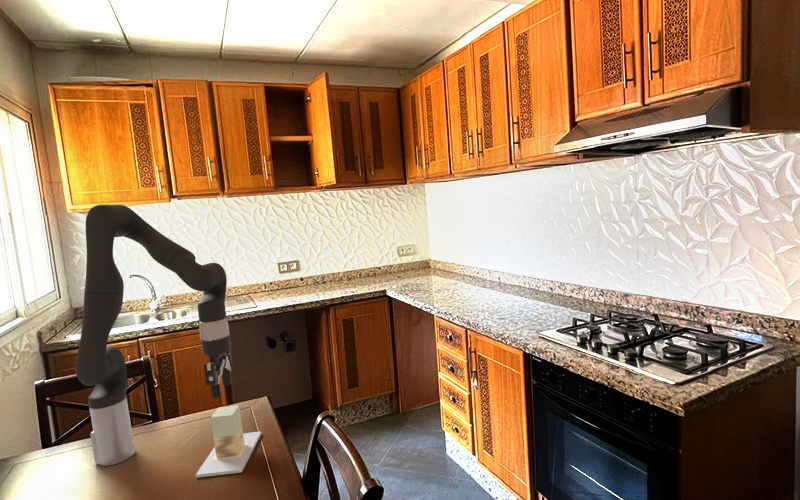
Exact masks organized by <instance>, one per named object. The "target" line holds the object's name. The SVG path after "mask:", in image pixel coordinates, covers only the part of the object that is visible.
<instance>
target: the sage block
mask: <svg viewBox="0 0 800 500" xmlns="http://www.w3.org/2000/svg"><path fill="white" fill-rule="evenodd" d="M210 422H211V429H212V436H213V439H214V438H217V437H226V436H235V435H236V434H237V432H238V430H239V429H240V427H241V425H242V426H243V423H242V415H241V409H240V405H237V404H236V405H230V406H221V407H220V406H219V407H217V408H216V410H215V411H214V413H213V414H212V415H211V417H210Z"/></svg>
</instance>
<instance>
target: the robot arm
mask: <svg viewBox="0 0 800 500" xmlns="http://www.w3.org/2000/svg"><path fill="white" fill-rule="evenodd" d="M121 237H123V238H127V239H129V240H132V241H134V242H136V243H138V244H140V245H141V246H142V247H143V248H144V249H145V250H146V252H147V253H148V255H149V256H150V257H151V258H152V259H153V260H154V261H155V262H156V263H158V264H160V265H161V266H163V267H164V268H165V269H167V270H169V271H171V272H173V273H174V274H176V275H177V277H179V279H181V281H182V282H183V283H185V285H186V286H188V287H189V288H190V289H192V290H194V291H197V292H200V293H201V292H203V296H202V297H201V299H200V300H199V301H198V302H197V313H198V321H199V326H198V327H199V328H198V329H199V336H200V337H199V338H200V344H201V352H202V354H203V355H204V356H208V362H206V363H204V364H203V367H204V377H205V385H206V386H208V387H209V386H210V391H211V392H210V393H211V397H212V398H213V399H218V398H221V397H222V390H221V383H220V381H221V378H222V385H223V386H230V385H231V384H232V376H231V375H232V374H231V372H232V368H233V366H234V364H233V358H232V351H231V350H232V343H231V334H230V327H229V321H228V319H227V318H228V317H227V311H226V304H225V302H226V301H225V300H226V296H227V285H228V283H227V282H228V278H227V273H226V270H225V269H224V267H223V266H222V265H221V264H220V263H217V262H210V263H209V262H208V263H205V264H200V263H198V262H196V259H197V258H196V255H195V254H194V253H193V252H192V251H190V250H189V249H186V248H185V247H184V246H181V245H180V244H178V243H177V242H175V241H173V240H171V238H169V237H167V236H165V235H164V234H162V233H161V232H159V230H157V229H156V228H154V227H153V226H152V225H151V224H150V223H148V222H147V221H146V220H144V219H143V218H142V217H141V216H140V215H139V214H137V213H136V212H135V211H134V210H133V209H131V208H130V207H128V206H126V205H123V204H119V203H118V204H117V203H116V204H115V203H114V204H106V203H105V204H104V203H103V204H96V205H93V206H91V208H90V209H89V210H88V211H87V213H86V217H85V243H86V244H85V245H86V265H85V266H86V267H85V270H86V271H85V283H84V292H83V294H84V295H83V311H82V312H83V313H82V321H81V322H82V323H81V324H82V325H81V334H80V338H79V339H80V341H79V345H78V348H77V349H78V350H77V354H76V359H75V365H74V366H75V367H74V368H75V374H76V377H77V379H78V381H79V382H80V383H81V384H83V385H84V386H87V387H92V386H94V388H93V390H92V392H91V394H90V395H89V396H88V398H87V402H88V403H87V404H88V407H89V408H88V409H89V414H90V419H91V425H92V426H91V427H92V431H91V432H90V435H89V436H90V441H91V447H92V451H93V459H94V464H95V465H100V466H102V467H104V466H105V467H108V466H113V465H116V464H120V463H122V462H125V461H126V460H128V459H130V458H132V457H133V456H134V455H135V453H136V447H135V442H134V436H133V429H132V424H131V417H130V410H129V405H128V399H127V398H128V397H127V393H126V392H127V390H128V389H127V388H128V378H127V377H128V375H127V367H126V361H125V357H124V355H123V353H122V351H121V349H119V348H118V347H116V346H115V345H111V344H109V345H108V341H109V336H110V333H111V331H112V329H113V327H114V325H115V324H116V321H117V320H118V318H119V315H120V313H121V310H122V306H123V303H124V291H125V286H124V285H125V282H124V280H123V276H122V274H121V273H120V271H119V269H118V267H117V264H116V263H115V259H114V241H115V238H121Z"/></svg>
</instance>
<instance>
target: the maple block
mask: <svg viewBox="0 0 800 500" xmlns="http://www.w3.org/2000/svg"><path fill="white" fill-rule="evenodd" d="M243 433H244V431H243V424H242V425H241V427H240V429H239V430H238V432H237V434H236V435H235V436H226V437H217V438H214V437H213V443H214V444H213V445H214V447H215V452H216V458H222V457H231V456H238V455H239V453H240V451H241V450H242V448H243V446H244V436H243Z"/></svg>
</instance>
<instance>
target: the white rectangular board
mask: <svg viewBox="0 0 800 500" xmlns="http://www.w3.org/2000/svg"><path fill="white" fill-rule="evenodd" d="M261 435H262V431H253V432H252V431H251V432H245V433H244V432H243V436H244V446H243V448H242V450H241V451H240V453H239V455H238V456H231V457H222V458H216V452H215V446H214V447H213V448H212V450H211V452H209V454H208V456H207V457H206V458H205V461H204V462H203V463H202V465H201V466H200V468H199V469H198V471H197V472H196V474H195V478H205V477H215V476H223V475H231V474H240V473H243V470H244V469H245V467H246V465H247V463H248V461H249V459H250V457H251V455H252V454H253V452H254V449H255V447H256V445H257V444H258V441H259V440H260V438H261Z"/></svg>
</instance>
